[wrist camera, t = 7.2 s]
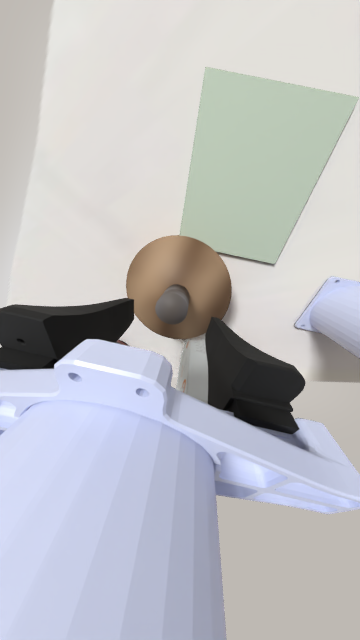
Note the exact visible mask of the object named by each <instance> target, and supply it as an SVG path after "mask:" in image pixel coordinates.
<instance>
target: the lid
mask: <svg viewBox="0 0 360 640" xmlns="http://www.w3.org/2000/svg"><path fill="white" fill-rule="evenodd" d="M126 289H127V296H128V298H129V299H134V313H135V315H136V316H137V317H138V319H139V320H140V321H141V322H142V323H143V324H144V325H145V326H146V327H147V328H149V329H150V330H152V331H153V332H155V333H157V334H159V335H162V336H164V337H168V338H173V339H189V338H194V337H198V336H200V335H203V334H205V333H206V332H207V329H208V326H209V323H210V320H211V317H216V318H219V319H220V320H222V318H223V317H224V315H225V313H226V311H227V309H228V306H229V303H230V299H231V280H230V276H229V272H228V270H227V267H226V265H225V264H224V262H223V260H222V259H221V258H220V256H219V255H218V254H217V253H216V252H215V251H214V250H213V249H212V248H211V247H209V246H208V245H207V244H205V243H203V242H201V241H199V240H197V239H194V238H191V237H187V236H180V235H177V236H166V237H162V238H159V239H156V240H154V241H152V242H150V243H149V244H147V245H146V246H145V247H143V248H142V249H141V250H140V251H139V252H138V253H137V255H136V256H135V258H134V259H133V261H132V263H131V265H130V267H129V270H128V274H127V280H126Z"/></svg>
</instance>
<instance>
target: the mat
mask: <svg viewBox="0 0 360 640" xmlns="http://www.w3.org/2000/svg"><path fill="white" fill-rule="evenodd" d="M358 99H359V97H356V96H350V95H345V94H340V93H335V92H330V91H325V90H320V89H315V88H310V87H305V86H300V85H295V84H290V83H285V82H280V81H275V80H270V79H265V78H260V77H255V76H249V75H244V74H239V73H234V72H229V71H224V70H219V69H214V68H209V67H205V73H204V80H203V86H202V93H201V99H200V106H199V112H198V119H197V125H196V132H195V138H194V145H193V151H192V158H191V164H190V171H189V177H188V184H187V190H186V197H185V203H184V210H183V216H182V222H181V229H180V236H187V237H191V238H194V239H197V240H199V241H201V242H203V243H205V244H207V245H208V246H209V247H211V248H212V249H213V250H214V251H216V252H221V253H225V254H230V255H235V256H239V257H244V258H249V259H253V260H258V261H263V262H267V263H272V264H275V263H276V261H277V259H278V257H279V255H280V253H281V251H282V249H283V247H284V245H285V243H286V241H287V239H288V237H289V235H290V233H291V231H292V229H293V227H294V225H295V223H296V221H297V219H298V217H299V215H300V213H301V211H302V209H303V207H304V206H305V204H306V202H307V200H308V198H309V196H310V194H311V192H312V190H313V188H314V186H315V184H316V182H317V180H318V178H319V176H320V174H321V172H322V170H323V168H324V166H325V164H326V162H327V160H328V158H329V156H330V154H331V152H332V150H333V148H334V146H335V144H336V142H337V140H338V138H339V137H340V135H341V133H342V131H343V129H344V127H345V125H346V123H347V121H348V119H349V117H350V115H351V113H352V111H353V109H354V107H355V105H356V103H357V101H358Z"/></svg>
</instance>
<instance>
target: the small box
mask: <svg viewBox="0 0 360 640" xmlns="http://www.w3.org/2000/svg"><path fill="white" fill-rule="evenodd" d="M205 335H206V333H205V334H203V335H200V336H198V337H194V338H189V339H187V340H186V343H185V346H184V349H183V352H182V354H181V358H180V365H179V373H178V380H177V386H176V389H177V390H179V391H181V392H184V393H186V394H188V395H190V396H192V397H194V398H196V399H198V400H200V401H202V402H204V403H207V404H208V362H207V354H206V346H205Z"/></svg>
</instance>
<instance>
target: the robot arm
mask: <svg viewBox="0 0 360 640" xmlns="http://www.w3.org/2000/svg"><path fill="white" fill-rule="evenodd" d="M336 280H337V282H336V283H335V281H336ZM133 320H134V299H129V298H123V299H118V300H113V301H109V302H103V303H98V304H92V305H83V306H66V307H49V306H30V305H10V306H7V307H4V308H1V309H0V344H1V345H2V347H1V348H0V640H226V627H225V613H224V600H223V586H222V572H221V560H220V559H221V558H220V547H219V531H218V519H217V504H216V495H219V496H225V497H232V498H239V499H245V500H252V501H259V502H266V503H272V504H278V505H285V506H291V507H295V508H301V509H306V510H311V511H315V512H320V513H324V514H333V513H339V512H345V511H351V510H357V509H360V475H359V473H358V472H357V471H356V469H355V468H354V466H353V465H352V463H351V462H350V461H349V459H348V458H347V457H346V455H345V454H344V452H343V451H342V449H341V448H340V447H339V445H338V444H337V443H336V441H335V440H334V438H333V437H332V435H331V434H330V433H329V431H328V430H327V428H326V427H325V426H324V424H323V423H320V422H316V421H312V420H307V419H303V418H296V419H294V418H293V416H292V415H291V413H290V412H292V411H293V408H292V406H291V405H290V402H291V401H292V400H293V399H294V398H295V397H297V396H298V395H299V394H300V393H301V391H302V390H303V389H304V386H305V379H304V378H303V376H302V375H301V374H300V373H299V371H298V370H297V369H296V368H295V366H293V365H290V364H288V363H286V362H283V361H281V360H278V359H276V358H274V357H272V356H270V355H268V354H266V353H264V352H262V351H260V350H259V349H257V348H255V347H254V346H252V345H250V344H249V343H247V342H246V341H244V340H243V339H242V338H240V337H239V336H238V335H237V334H235V333H234V332H233V331H232V330H231V329H230V328H229V327H228V326H227V325H226V324H225V323H224V322H223V321H222V320H220V319H219V318H216V317H211V320H210V323H209V326H208V329H207V332H206V335H205V346H206V354H207V362H208V404H207V403H204V402H202V401H200V400H198V399H196V398H194V397H192V396H190V395H188V394H186V393H184V392H181V391H179V390H177V389H175V388H173V387H171V379H172V374H173V373H172V366H171V364H170V363H169V362H168V361H167V360H166V358H165V357H164V356H162V355H159V354H157V353H155V352H153V351H148V350H144V349H139V348H135V347H130V346H126V345H122V344H117V343H116V342H117V340H118V339H119V338H120V337H121V336H122V335H123V334H124V332H125V331H126V330H127V329H128V328H129V326H130V325H131V323H132V321H133ZM301 325H302V326H301ZM295 327H297V328H301V329H305V330H310V331H314V332H319V333H323V334H324V335H326V336H327V337H329V338H330V339H332V340H333V341H335V342H336V343H337V344H339V345H340V346H342V347H343V348H345V349H346V350H348V351H349V352H351V353H352V354H354V355H355V356H357V357H358V358H359V359H360V282H356V281H351V280H347V279H342V278H337V277H330V278H329V279H328V280H327V281H326V282H325V284H324V285H323V286H322V288H321V289H320V291H319V292H318V293H317V295H316V296H315V297H314V299H313V300H312V301H311V303H310V304H309V306H308V307H307V308H306V310H305V311H304V312H303V314H302V315H301V316H300V318H299V319H298V321H297V322H296V323H295Z"/></svg>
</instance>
